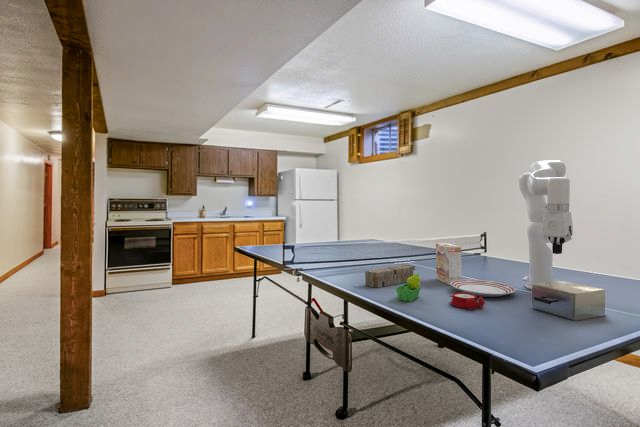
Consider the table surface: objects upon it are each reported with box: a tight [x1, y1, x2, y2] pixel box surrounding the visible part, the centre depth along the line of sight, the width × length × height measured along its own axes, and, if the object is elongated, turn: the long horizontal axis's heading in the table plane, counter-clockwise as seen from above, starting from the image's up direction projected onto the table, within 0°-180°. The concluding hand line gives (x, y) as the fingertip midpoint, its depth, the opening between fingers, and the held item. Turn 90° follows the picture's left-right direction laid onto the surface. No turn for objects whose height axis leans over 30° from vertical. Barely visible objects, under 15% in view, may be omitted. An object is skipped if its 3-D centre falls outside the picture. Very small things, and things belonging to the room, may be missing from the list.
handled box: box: [531, 287, 574, 318], centre depth 135 cm, size 19×15×8 cm
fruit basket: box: [395, 273, 422, 302], centre depth 157 cm, size 11×9×11 cm
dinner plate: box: [450, 279, 517, 298], centre depth 167 cm, size 27×27×3 cm
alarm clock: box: [449, 291, 488, 311], centre depth 146 cm, size 10×6×15 cm
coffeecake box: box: [435, 242, 462, 286], centre depth 190 cm, size 15×7×20 cm, turn 6°
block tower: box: [364, 263, 416, 289], centre depth 189 cm, size 8×8×29 cm
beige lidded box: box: [532, 280, 606, 322], centre depth 137 cm, size 16×17×10 cm
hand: (557, 253), depth 147 cm, fingers closed
